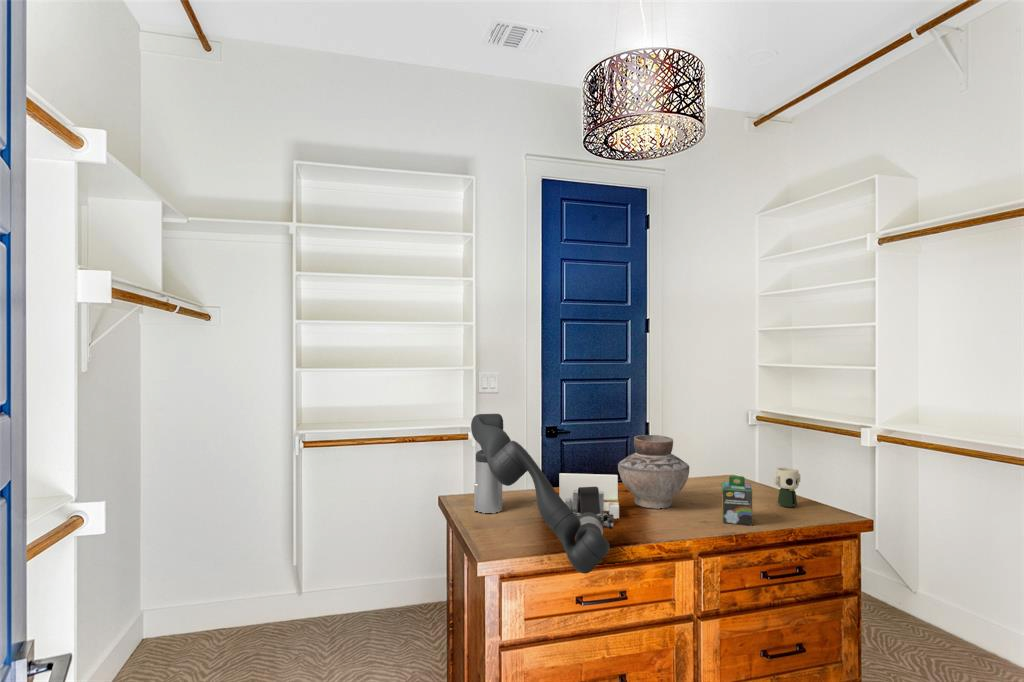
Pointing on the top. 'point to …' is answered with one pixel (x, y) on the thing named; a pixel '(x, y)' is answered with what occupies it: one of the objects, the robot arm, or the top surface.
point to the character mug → (787, 485)
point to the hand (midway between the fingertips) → (588, 513)
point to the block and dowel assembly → (601, 500)
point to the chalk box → (737, 501)
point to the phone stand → (588, 500)
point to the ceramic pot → (653, 472)
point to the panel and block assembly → (590, 480)
